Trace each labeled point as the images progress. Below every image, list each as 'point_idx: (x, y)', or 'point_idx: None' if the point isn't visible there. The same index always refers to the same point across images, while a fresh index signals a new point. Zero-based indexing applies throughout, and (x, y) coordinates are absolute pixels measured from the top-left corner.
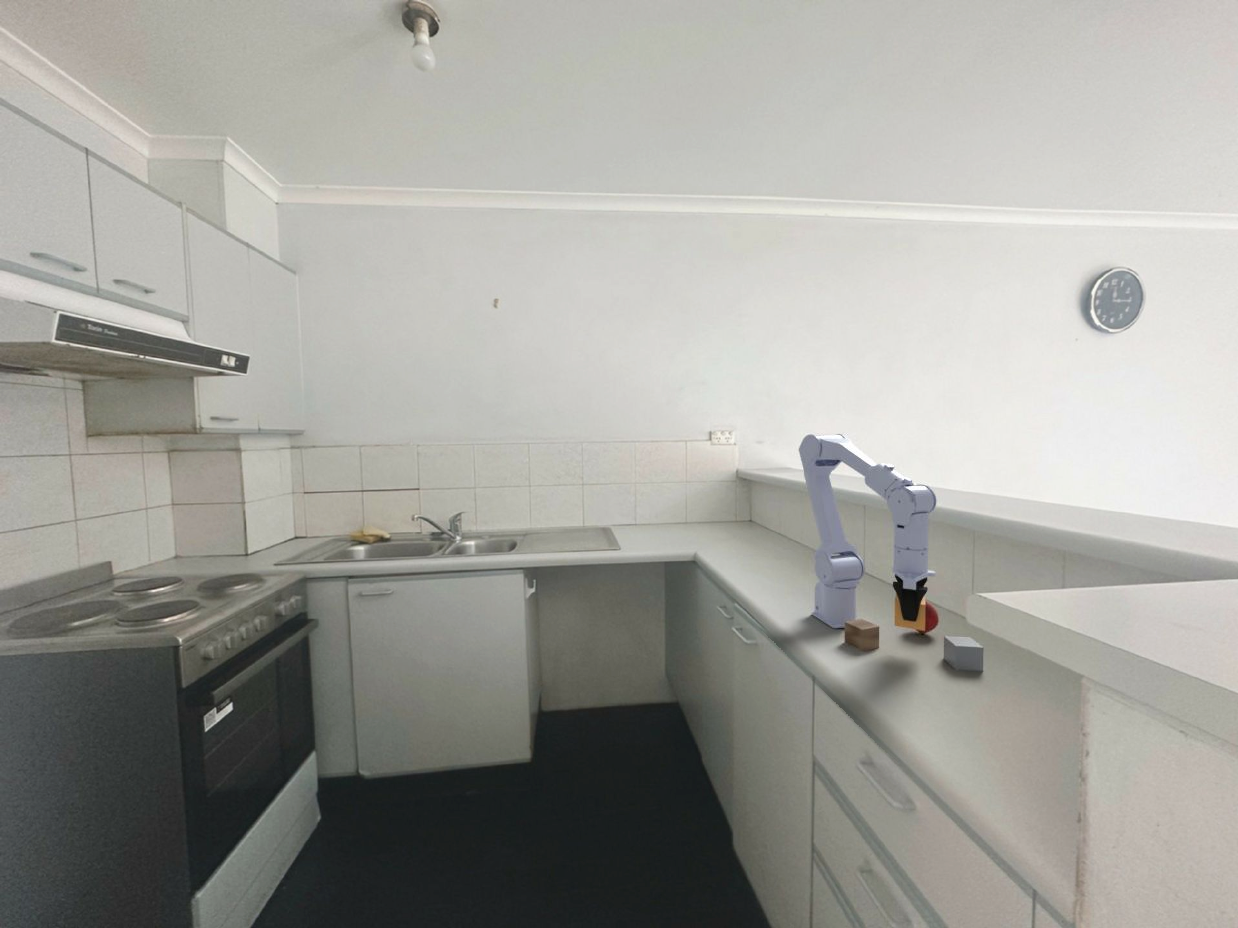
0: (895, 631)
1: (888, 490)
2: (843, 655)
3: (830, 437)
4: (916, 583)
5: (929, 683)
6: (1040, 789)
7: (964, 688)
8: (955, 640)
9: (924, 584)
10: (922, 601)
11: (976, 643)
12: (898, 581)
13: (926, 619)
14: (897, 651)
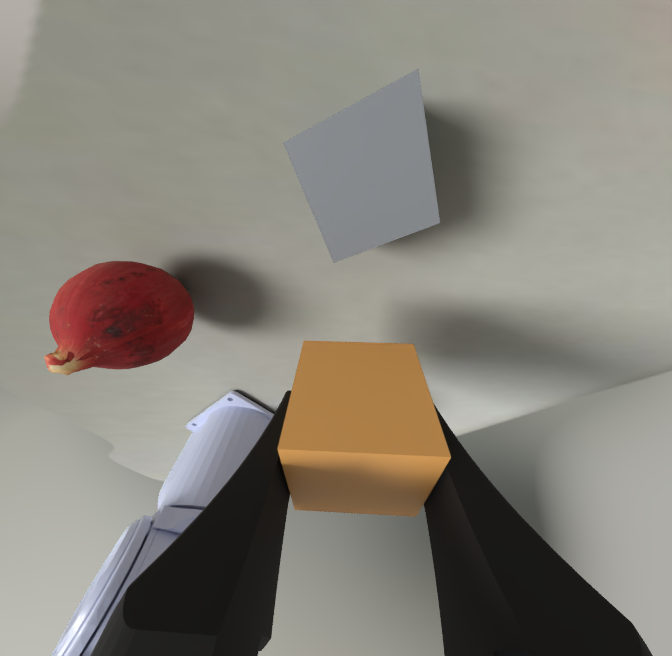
0: (214, 341)
1: None
2: None
3: None
4: (255, 580)
5: (537, 276)
6: None
7: (565, 184)
8: (369, 220)
9: (242, 568)
10: (383, 461)
11: (365, 111)
12: (274, 594)
13: (171, 309)
14: (350, 337)
